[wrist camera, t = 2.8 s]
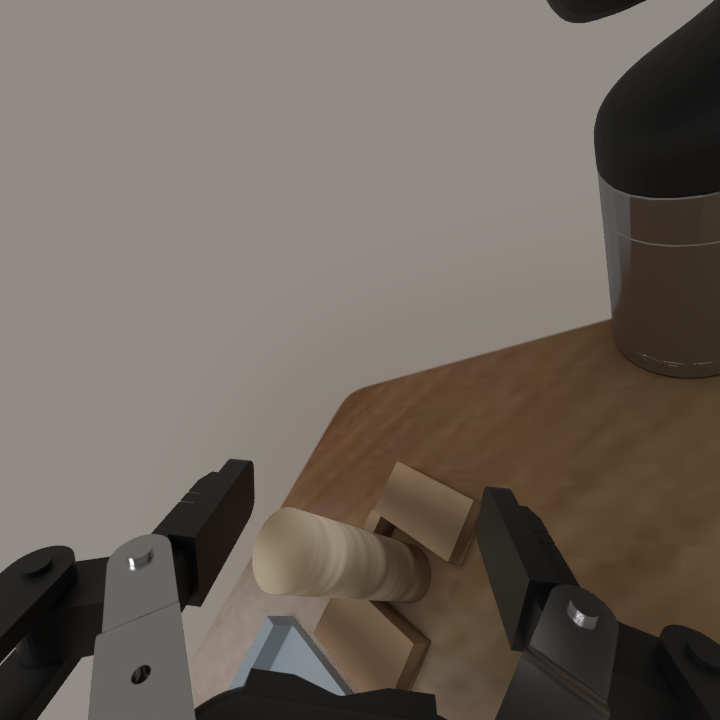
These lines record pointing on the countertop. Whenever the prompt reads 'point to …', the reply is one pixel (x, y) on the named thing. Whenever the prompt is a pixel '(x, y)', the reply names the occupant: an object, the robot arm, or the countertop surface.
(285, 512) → the axle
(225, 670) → the countertop surface
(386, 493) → the wooden u-shaped block
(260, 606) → the countertop surface
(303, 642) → the cradle
